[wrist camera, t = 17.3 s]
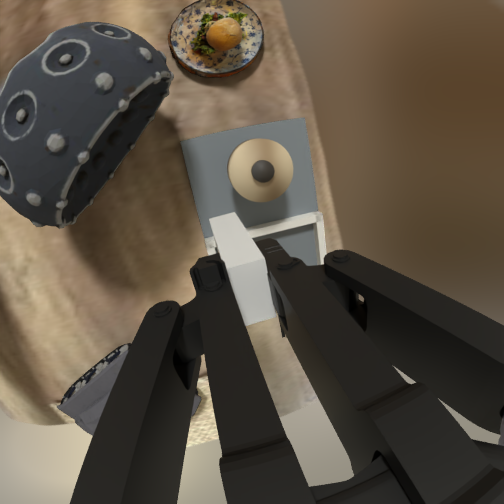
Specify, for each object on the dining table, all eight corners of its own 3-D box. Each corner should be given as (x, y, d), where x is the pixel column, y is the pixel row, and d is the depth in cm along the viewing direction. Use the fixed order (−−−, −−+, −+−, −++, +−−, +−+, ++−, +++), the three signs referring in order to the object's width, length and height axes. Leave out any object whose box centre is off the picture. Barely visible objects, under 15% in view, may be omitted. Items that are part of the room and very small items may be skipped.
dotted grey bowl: (186, 84, 32) (179, 32, 14) (96, 210, 35) (26, 278, 17) (124, 43, 28) (70, -25, 10) (40, 168, 31) (-56, 205, 13)
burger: (248, -5, 28) (260, -29, 21) (272, 67, 33) (289, 53, 26) (160, 15, 27) (154, -9, 20) (181, 89, 32) (178, 78, 25)
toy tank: (203, 382, 51) (211, 449, 37) (126, 429, 53) (122, 484, 40) (128, 328, 43) (112, 399, 30) (60, 389, 46) (43, 445, 32)
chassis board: (225, 313, 45) (229, 328, 42) (180, 141, 34) (179, 141, 31) (323, 286, 47) (333, 298, 43) (301, 117, 36) (313, 116, 32)
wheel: (233, 203, 34) (237, 210, 32) (221, 145, 32) (224, 146, 29) (290, 190, 35) (299, 196, 32) (281, 133, 32) (289, 133, 29)
